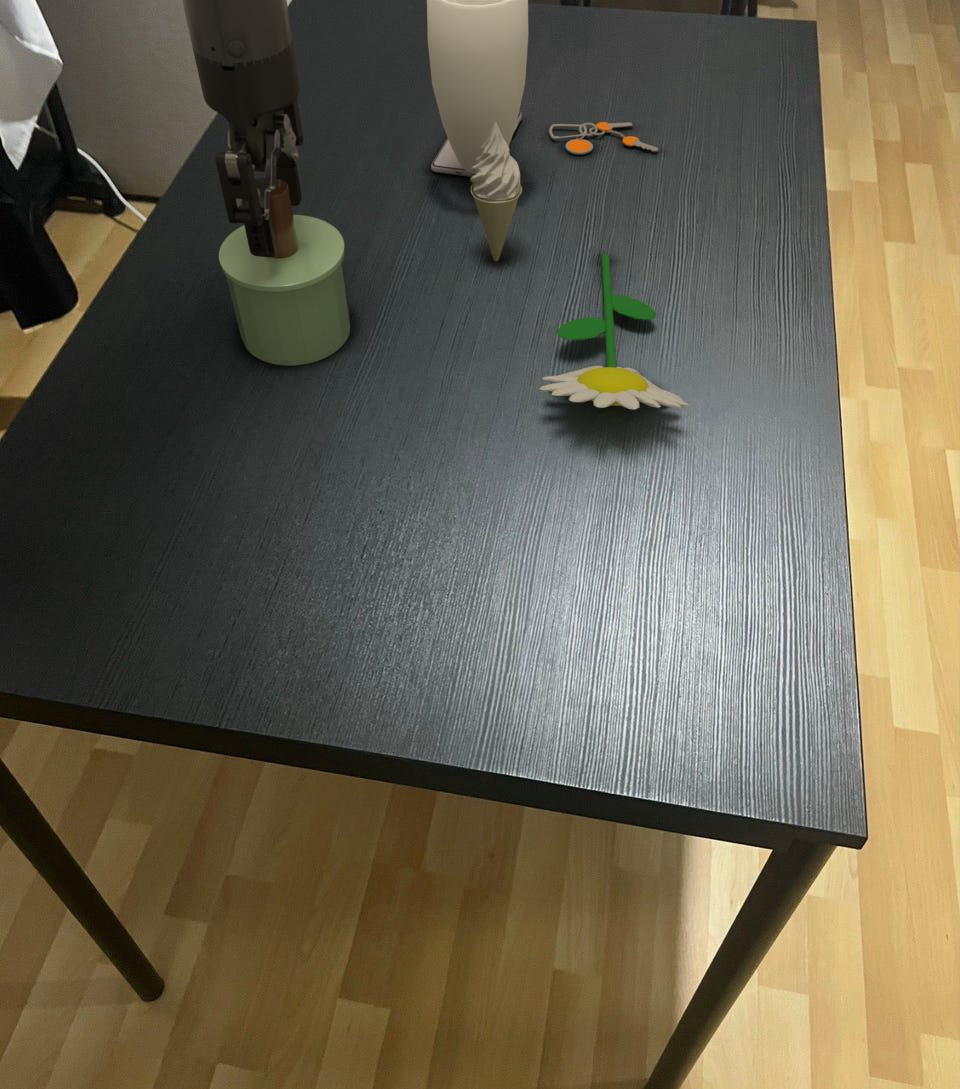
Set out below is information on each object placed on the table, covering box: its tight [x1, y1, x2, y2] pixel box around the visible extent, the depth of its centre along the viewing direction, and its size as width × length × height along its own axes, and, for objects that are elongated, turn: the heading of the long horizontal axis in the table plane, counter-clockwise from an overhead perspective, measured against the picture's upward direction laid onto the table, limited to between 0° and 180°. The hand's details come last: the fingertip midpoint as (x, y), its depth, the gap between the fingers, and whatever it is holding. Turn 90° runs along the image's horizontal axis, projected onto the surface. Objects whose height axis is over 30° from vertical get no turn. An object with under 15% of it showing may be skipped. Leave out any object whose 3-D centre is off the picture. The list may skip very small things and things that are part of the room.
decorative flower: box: [538, 253, 689, 411], centre depth 92 cm, size 13×5×30 cm
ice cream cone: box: [469, 120, 523, 262], centre depth 98 cm, size 5×5×15 cm
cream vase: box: [426, 0, 529, 173], centre depth 104 cm, size 10×10×22 cm
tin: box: [225, 261, 352, 367], centre depth 93 cm, size 10×10×8 cm
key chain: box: [548, 121, 660, 155], centre depth 118 cm, size 13×7×1 cm, turn 88°
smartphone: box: [430, 111, 523, 178], centre depth 118 cm, size 7×1×15 cm
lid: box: [218, 179, 346, 292], centre depth 87 cm, size 11×11×7 cm
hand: (277, 228), depth 88 cm, fingers open, 7 cm apart
